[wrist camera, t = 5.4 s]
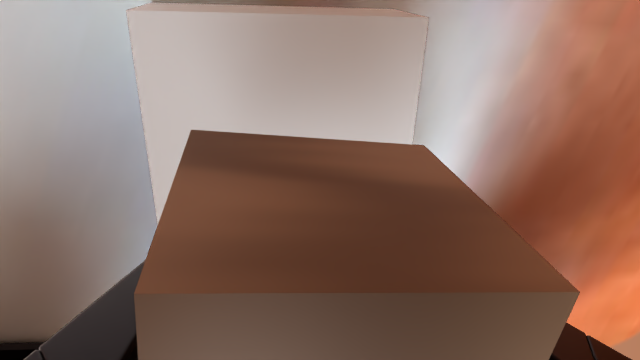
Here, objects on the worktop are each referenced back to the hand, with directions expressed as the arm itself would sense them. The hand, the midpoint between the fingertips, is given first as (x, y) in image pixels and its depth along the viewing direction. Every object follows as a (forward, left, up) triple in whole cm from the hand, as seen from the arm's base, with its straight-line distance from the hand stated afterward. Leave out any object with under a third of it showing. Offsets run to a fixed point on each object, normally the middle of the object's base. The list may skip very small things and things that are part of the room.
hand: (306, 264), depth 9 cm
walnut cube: (0, 0, -1) cm, 1 cm away
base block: (0, 0, -10) cm, 10 cm away
